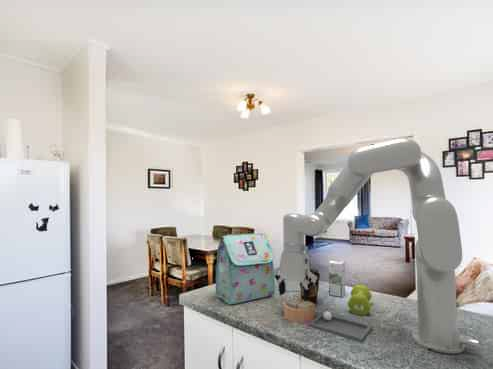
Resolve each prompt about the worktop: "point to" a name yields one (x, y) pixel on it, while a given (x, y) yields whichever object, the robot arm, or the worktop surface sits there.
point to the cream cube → (304, 305)
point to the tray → (342, 327)
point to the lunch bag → (244, 268)
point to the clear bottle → (337, 278)
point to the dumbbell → (360, 300)
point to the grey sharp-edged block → (293, 304)
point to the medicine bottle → (292, 285)
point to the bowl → (299, 313)
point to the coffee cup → (313, 289)
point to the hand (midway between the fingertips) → (294, 296)
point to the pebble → (327, 315)
